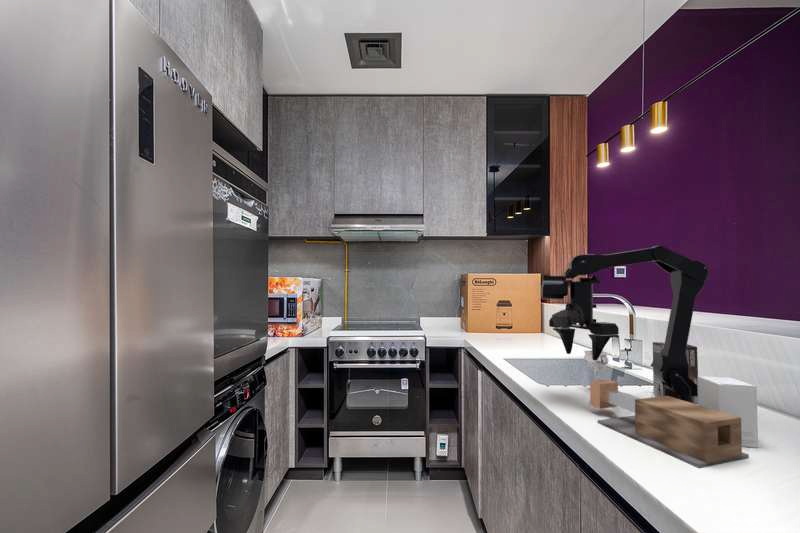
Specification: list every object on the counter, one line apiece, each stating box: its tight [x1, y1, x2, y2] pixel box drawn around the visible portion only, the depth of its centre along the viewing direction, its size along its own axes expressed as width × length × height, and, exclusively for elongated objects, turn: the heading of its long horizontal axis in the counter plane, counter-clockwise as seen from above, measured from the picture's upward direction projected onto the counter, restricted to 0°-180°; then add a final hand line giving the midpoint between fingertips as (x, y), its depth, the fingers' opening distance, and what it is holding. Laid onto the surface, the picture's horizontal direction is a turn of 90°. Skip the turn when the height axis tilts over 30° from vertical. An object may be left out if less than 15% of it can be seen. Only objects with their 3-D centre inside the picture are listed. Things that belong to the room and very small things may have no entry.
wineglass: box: [583, 350, 609, 393], centre depth 113 cm, size 7×7×12 cm
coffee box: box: [652, 341, 699, 405], centre depth 107 cm, size 9×6×16 cm
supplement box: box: [697, 375, 759, 449], centre depth 79 cm, size 7×7×13 cm
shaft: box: [589, 379, 642, 413], centre depth 86 cm, size 20×6×6 cm, turn 19°
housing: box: [597, 396, 750, 469], centre depth 79 cm, size 22×14×8 cm, turn 19°
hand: (581, 356), depth 100 cm, fingers open, 9 cm apart
